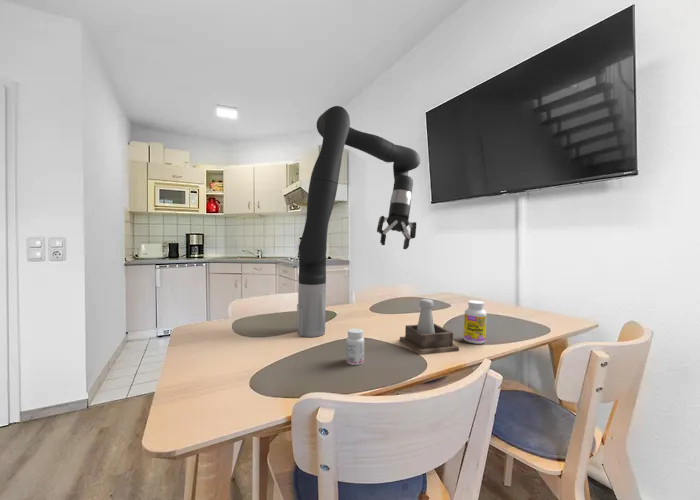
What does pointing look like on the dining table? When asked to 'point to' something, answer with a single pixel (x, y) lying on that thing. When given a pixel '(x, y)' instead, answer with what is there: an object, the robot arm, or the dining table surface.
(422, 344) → the socket board
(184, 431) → the dining table surface
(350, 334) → the pill bottle
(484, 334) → the supplement bottle
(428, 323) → the salt shaker
